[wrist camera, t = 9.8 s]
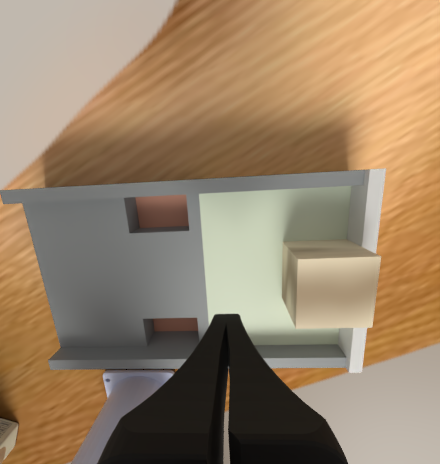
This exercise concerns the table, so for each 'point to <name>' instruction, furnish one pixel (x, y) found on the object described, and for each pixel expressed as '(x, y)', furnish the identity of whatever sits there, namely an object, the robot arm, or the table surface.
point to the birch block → (329, 283)
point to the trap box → (191, 264)
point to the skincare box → (7, 437)
